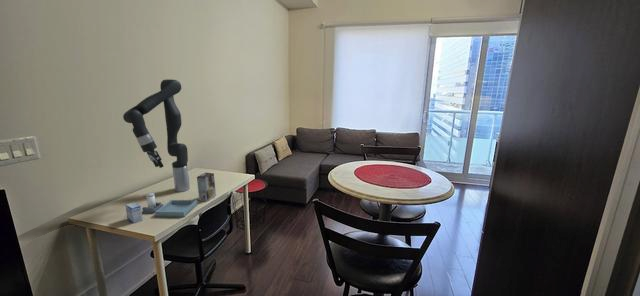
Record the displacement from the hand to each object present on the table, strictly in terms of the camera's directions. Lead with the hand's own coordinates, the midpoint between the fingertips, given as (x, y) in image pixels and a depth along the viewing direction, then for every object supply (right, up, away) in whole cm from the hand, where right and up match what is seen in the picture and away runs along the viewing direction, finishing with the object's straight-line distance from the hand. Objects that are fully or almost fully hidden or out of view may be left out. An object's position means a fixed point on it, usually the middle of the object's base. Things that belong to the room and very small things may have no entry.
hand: (159, 166), depth 164 cm
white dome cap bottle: (-1, -25, -5) cm, 26 cm away
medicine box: (-3, -28, -17) cm, 33 cm away
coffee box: (+24, -22, +12) cm, 35 cm away
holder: (-1, -25, -5) cm, 26 cm away
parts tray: (+14, -25, -6) cm, 29 cm away
